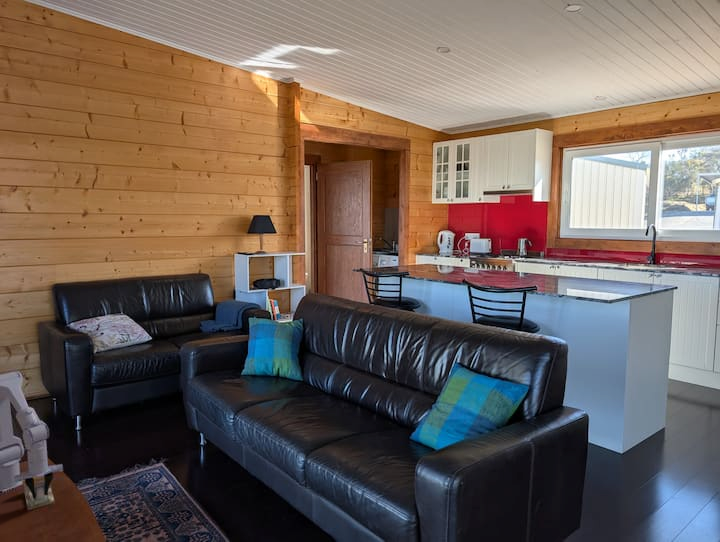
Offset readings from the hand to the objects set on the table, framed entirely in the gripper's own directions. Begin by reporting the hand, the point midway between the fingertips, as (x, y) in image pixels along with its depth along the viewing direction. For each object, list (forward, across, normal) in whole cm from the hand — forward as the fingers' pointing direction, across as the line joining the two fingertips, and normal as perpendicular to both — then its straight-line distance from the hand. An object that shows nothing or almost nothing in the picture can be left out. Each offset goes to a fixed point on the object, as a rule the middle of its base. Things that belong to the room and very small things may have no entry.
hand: (40, 495), depth 184 cm
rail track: (+3, 0, +5) cm, 6 cm away
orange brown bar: (-1, 0, +10) cm, 10 cm away
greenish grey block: (+2, 0, 0) cm, 2 cm away
